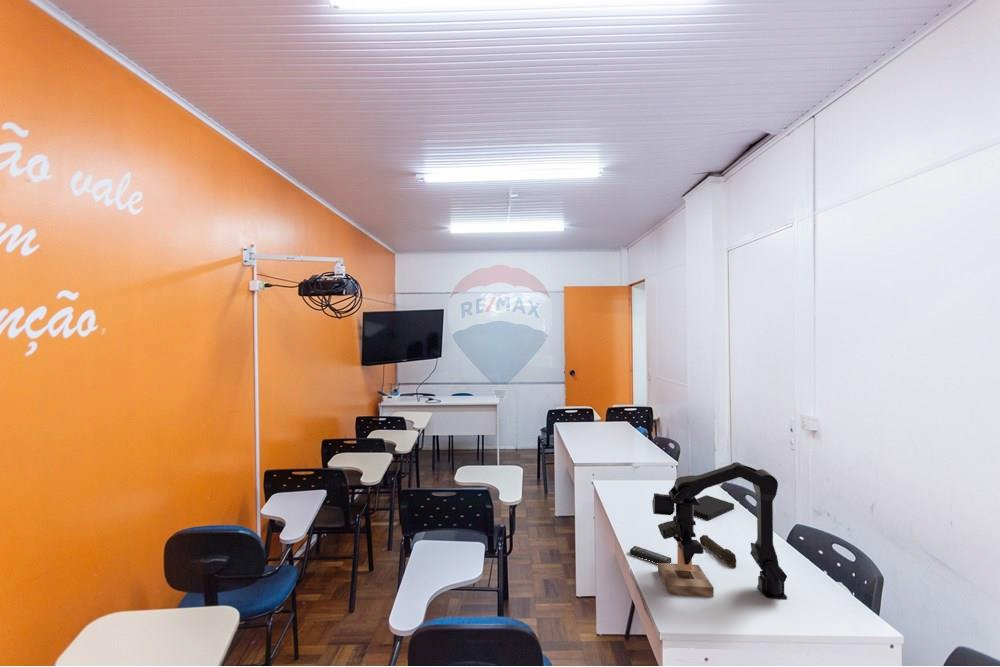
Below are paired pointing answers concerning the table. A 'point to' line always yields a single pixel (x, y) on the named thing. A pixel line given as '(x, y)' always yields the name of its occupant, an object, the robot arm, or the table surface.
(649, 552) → the multiport hub
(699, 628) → the table surface
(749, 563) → the table surface
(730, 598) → the table surface
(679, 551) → the peg
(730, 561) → the brown long rough piece
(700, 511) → the external hard drive
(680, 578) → the socket block
